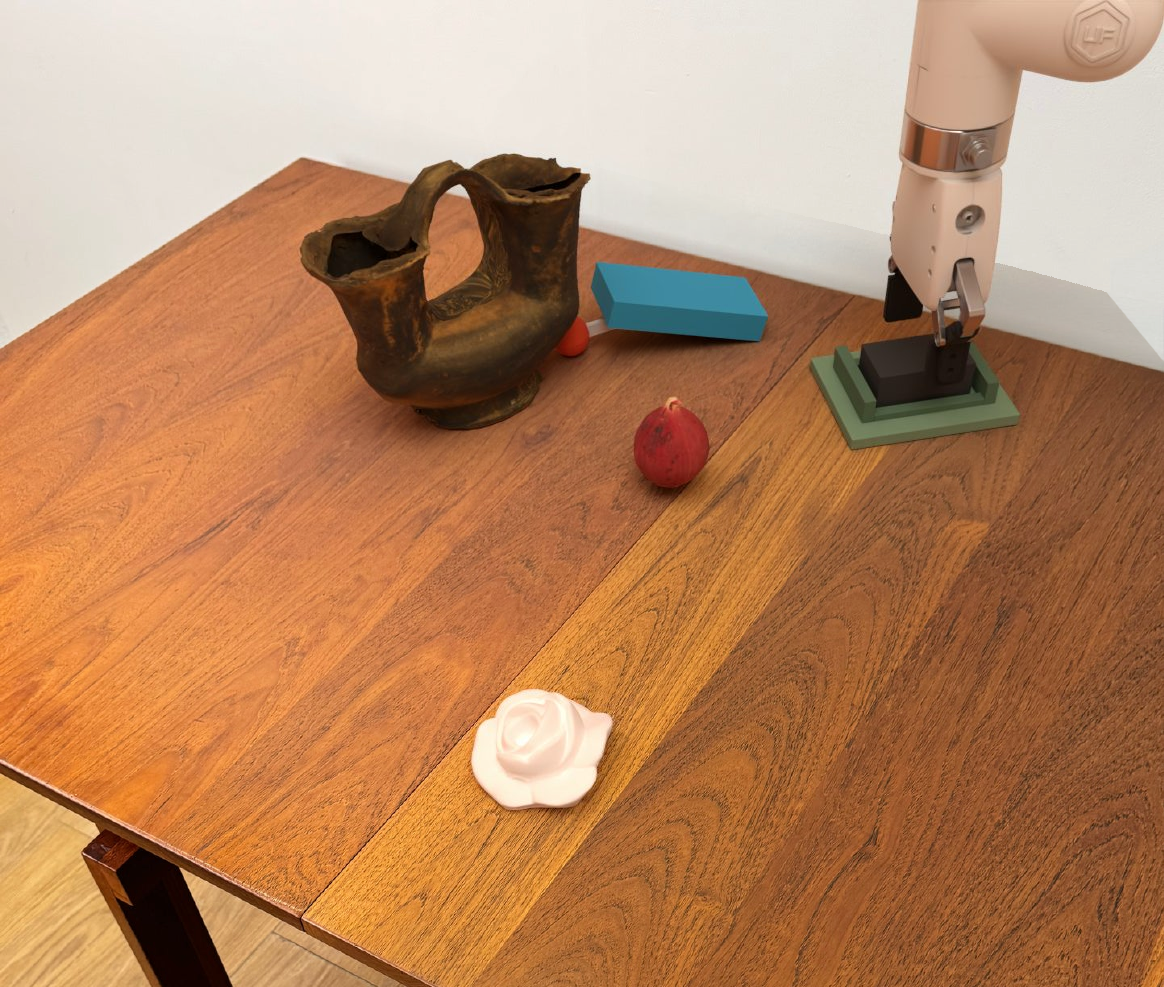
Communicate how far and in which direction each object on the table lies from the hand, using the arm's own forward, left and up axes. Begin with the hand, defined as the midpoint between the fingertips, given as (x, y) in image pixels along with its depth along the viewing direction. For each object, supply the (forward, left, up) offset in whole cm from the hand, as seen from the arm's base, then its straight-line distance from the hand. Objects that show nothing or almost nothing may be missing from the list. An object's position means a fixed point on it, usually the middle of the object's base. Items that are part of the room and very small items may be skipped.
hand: (921, 350), depth 102 cm
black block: (0, 0, -3) cm, 3 cm away
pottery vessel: (+36, -9, -5) cm, 38 cm away
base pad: (0, 0, -4) cm, 4 cm away
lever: (+19, -14, -5) cm, 24 cm away
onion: (+22, +7, -5) cm, 24 cm away
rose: (+36, +33, -5) cm, 49 cm away
